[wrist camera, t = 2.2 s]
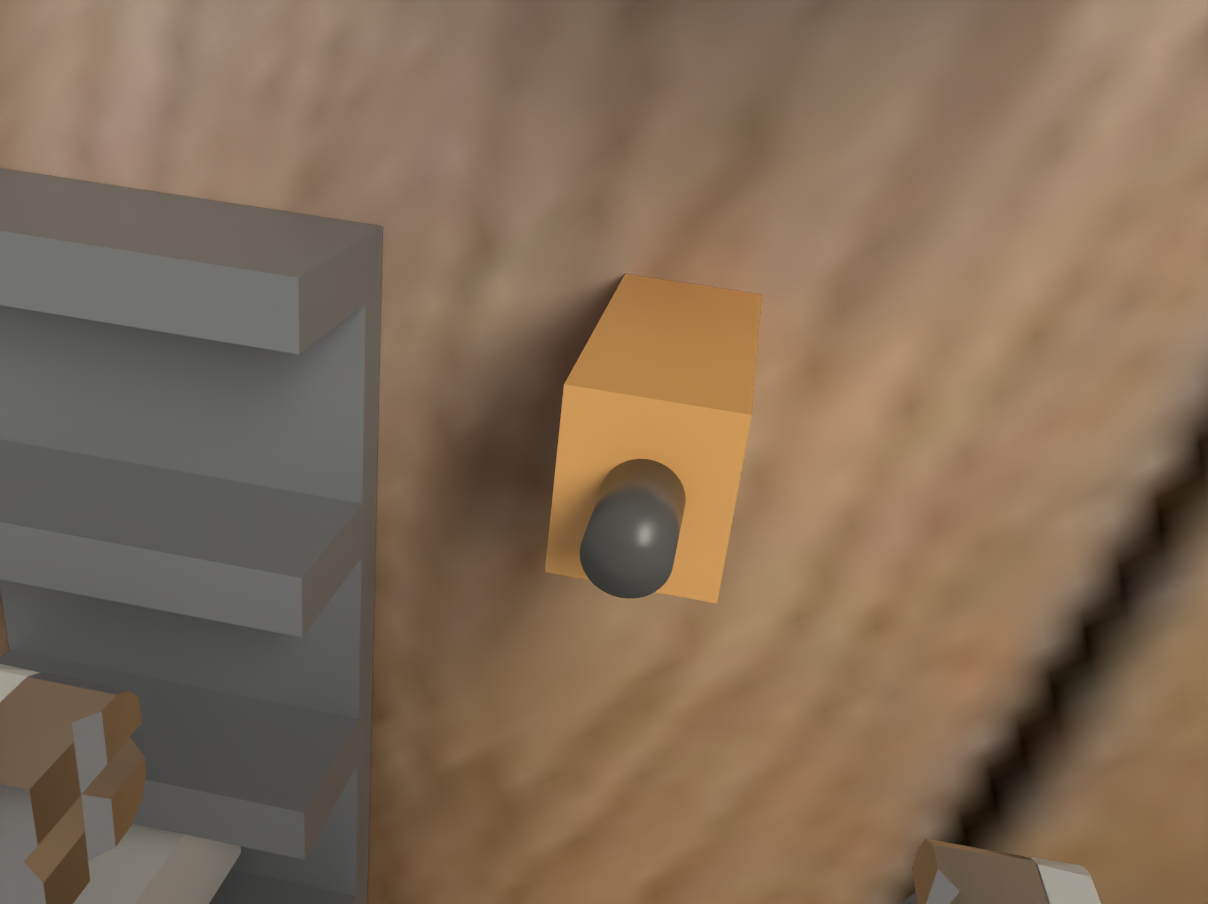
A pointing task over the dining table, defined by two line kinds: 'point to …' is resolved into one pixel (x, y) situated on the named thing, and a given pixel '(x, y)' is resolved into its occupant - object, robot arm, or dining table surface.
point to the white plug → (159, 869)
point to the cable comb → (201, 505)
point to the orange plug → (655, 440)
